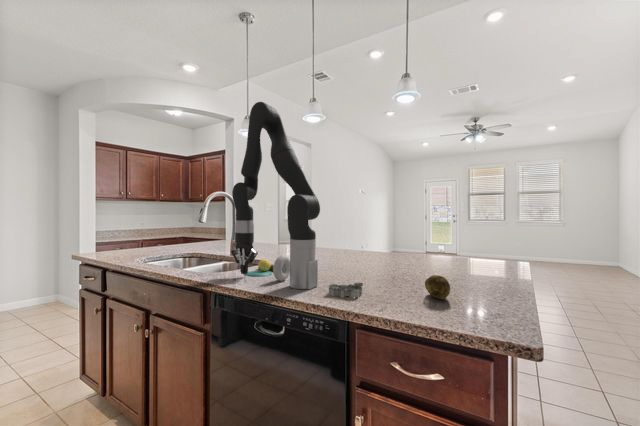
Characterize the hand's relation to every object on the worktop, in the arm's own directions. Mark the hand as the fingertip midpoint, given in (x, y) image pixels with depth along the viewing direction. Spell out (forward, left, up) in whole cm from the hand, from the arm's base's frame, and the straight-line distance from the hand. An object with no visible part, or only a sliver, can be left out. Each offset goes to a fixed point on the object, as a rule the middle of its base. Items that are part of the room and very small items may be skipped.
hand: (244, 273), depth 126 cm
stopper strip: (0, -18, -2) cm, 18 cm away
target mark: (0, -9, -2) cm, 9 cm away
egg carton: (-47, +3, -2) cm, 47 cm away
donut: (-17, -3, -2) cm, 17 cm away
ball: (+1, -14, +1) cm, 14 cm away
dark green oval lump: (-74, -7, -2) cm, 74 cm away
